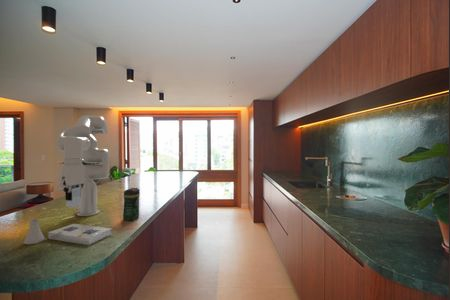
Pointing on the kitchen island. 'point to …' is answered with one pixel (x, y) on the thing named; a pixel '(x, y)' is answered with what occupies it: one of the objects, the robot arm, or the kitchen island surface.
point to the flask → (34, 233)
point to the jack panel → (80, 234)
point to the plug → (74, 197)
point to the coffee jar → (131, 204)
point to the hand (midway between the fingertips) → (73, 198)
